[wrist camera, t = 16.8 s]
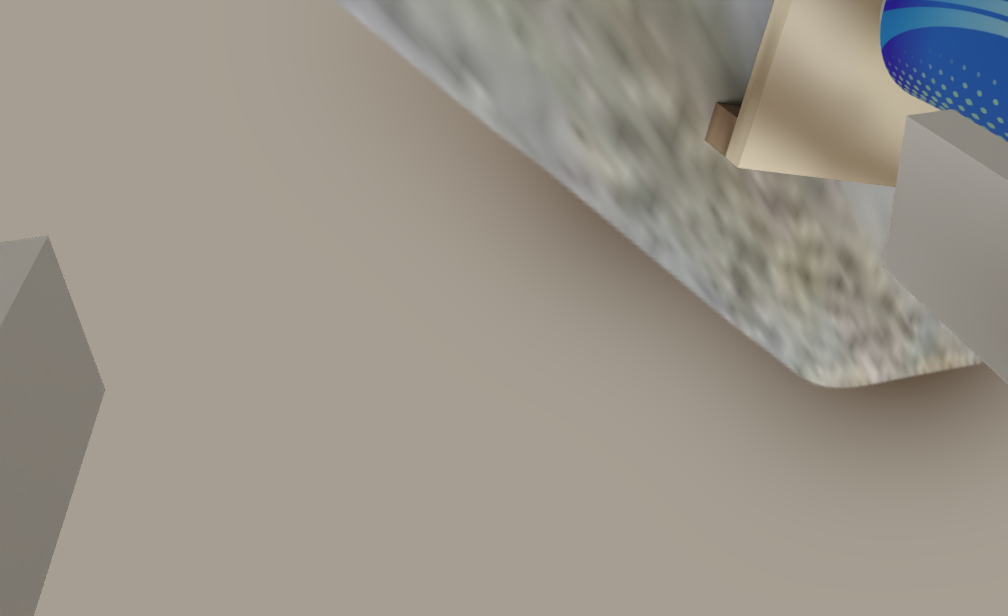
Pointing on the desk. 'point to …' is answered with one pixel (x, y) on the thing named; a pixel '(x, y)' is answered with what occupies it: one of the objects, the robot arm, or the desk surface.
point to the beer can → (950, 55)
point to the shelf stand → (819, 98)
